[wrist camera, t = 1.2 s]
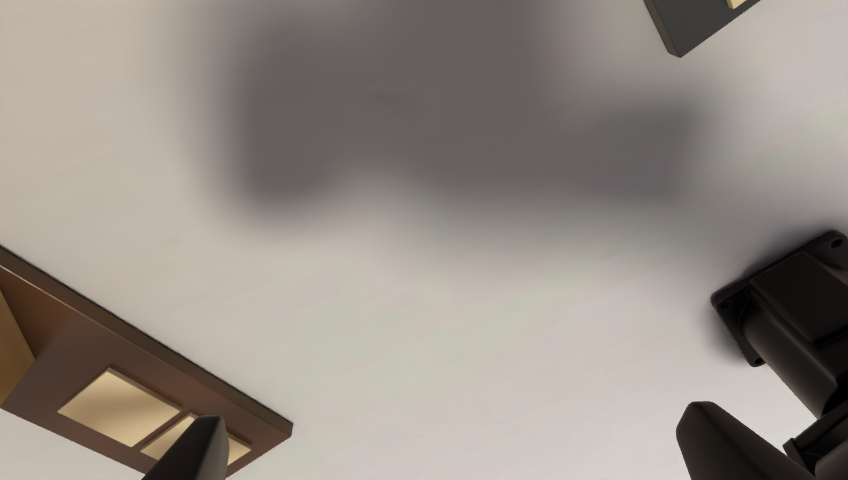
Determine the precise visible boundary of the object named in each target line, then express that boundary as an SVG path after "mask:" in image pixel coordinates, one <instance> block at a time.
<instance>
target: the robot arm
mask: <svg viewBox="0 0 848 480" xmlns="http://www.w3.org/2000/svg"><path fill="white" fill-rule="evenodd" d="M712 305H713V307H714V308H715V310H716V312H717V313H718V315H719V317H720V318H721V320H722V322H723V323H724V325H725V327H726V328H727V330H728V332H729V333H730V335H731V336H732V338H733V340H734V341H735V343H736V345H737V346H738V348H739V350H740V351H741V353H742V355H743V356H744V358H745V359H746V361H747V362H748V363H749V364H750V365H751V366H752V367H758V366H761V365H763V364H765V363H767V364H768V365H769V366H770V367H771V369H772V370H773V371H774V372H775V373H776V374H777V375H778V376H779V377H780V378H781V380H782V381H783V382H784V383H785V384H786V385H787V386H788V387H789V388H790V390H791V391H792V392H793V393H794V394H795V395H796V396H797V397H798V398H799V399H800V401H801V402H802V403H803V404H804V405H805V406H806V407H807V408H808V409H809V410H810V412H811V413H812V414H813V415H814V416H815V417H816V418H817V419H818V420H817V421H816V422H814V423H813V424H812V425H811V426H809V427H808V428H807V429H806V430H804V431H803V432H802V433H801V434H800V435H798V436H797V437H796V438H791V439H789V440H788V441H787V442H786V443H785V444H783V448H784V450H785V452H786V454H787V456H786V455H785V454H784V453H782V452H781V451H779V450H778V449H777V448H775V447H774V446H773V445H771V444H770V443H769V442H767V441H766V440H764V439H763V438H762V437H760V436H759V435H758V434H756V433H755V432H754V431H752V430H751V429H749V428H748V427H747V426H745V425H744V424H743V423H741V422H740V421H739V420H737V419H736V418H734V417H733V416H732V415H730V414H729V413H728V412H726V411H725V410H724V409H722V408H721V407H719V406H718V405H717V404H715V403H713V402H709V401H699V402H691V403H690V404H689V405H688V406H687V408H686V410H685V412H684V414H683V416H682V418H681V419H680V421H679V423H678V425H677V428H676V437H677V441H678V444H679V447H680V449H681V452H682V455H683V458H684V461H685V463H686V466H687V469H688V472H689V475H690V477H691V480H848V239H847V237H846V235H844V234H842V233H841V232H839V231H837V230H832V231H829V232H827V233H825V234H824V235H822V236H820V237H818V238H817V239H815V240H813V241H811V242H809V243H808V244H806V245H804V246H802V247H801V248H799V249H797V250H795V251H794V252H792V253H790V254H788V255H787V256H785V257H783V258H781V259H779V260H778V261H776V262H774V263H772V264H771V265H769V266H767V267H765V268H764V269H762V270H760V271H758V272H756V273H755V274H753V275H751V276H749V277H748V278H746V279H744V280H742V281H741V282H739V283H737V284H735V285H733V286H732V287H730V288H728V289H726V290H725V291H723V292H721V293H719V294H718V295H716V296H715V297H714V298H713V300H712ZM229 451H230V446H229V439H228V435H227V431H226V427H225V422H224V419H223V417H222V416H220V415H204V416H199V417H197V418H196V419H195V420H194V421H193V422H192V423H191V424H190V425H189V427H188V428H187V429H186V430H185V431H184V432H183V433H182V434H181V436H180V437H179V438H178V439H177V440H176V441H175V442H174V443H173V445H172V446H171V447H170V448H169V449H168V450H167V451H166V452H165V454H164V455H163V456H162V457H161V458H160V459H159V460H158V461H157V463H156V464H155V465H154V466H153V467H152V468H151V469H150V470H149V472H148V473H147V474H146V475H145V476H144V477H143V478H142V479H141V480H225V476H226V470H227V465H228V459H229Z"/></svg>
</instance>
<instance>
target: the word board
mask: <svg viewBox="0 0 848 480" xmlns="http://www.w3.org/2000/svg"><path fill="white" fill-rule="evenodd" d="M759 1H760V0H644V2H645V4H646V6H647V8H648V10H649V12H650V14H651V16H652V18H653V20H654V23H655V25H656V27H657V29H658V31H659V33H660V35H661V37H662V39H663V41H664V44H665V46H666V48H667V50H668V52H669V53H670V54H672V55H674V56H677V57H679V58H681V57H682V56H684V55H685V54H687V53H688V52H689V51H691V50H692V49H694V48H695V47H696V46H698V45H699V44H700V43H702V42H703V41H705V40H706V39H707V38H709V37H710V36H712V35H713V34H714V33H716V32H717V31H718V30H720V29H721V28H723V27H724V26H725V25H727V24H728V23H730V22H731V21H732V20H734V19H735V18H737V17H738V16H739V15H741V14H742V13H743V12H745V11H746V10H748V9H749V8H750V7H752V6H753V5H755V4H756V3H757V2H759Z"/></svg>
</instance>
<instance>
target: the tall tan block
mask: <svg viewBox="0 0 848 480" xmlns="http://www.w3.org/2000/svg"><path fill="white" fill-rule="evenodd" d="M34 361H35V358H34V356H33V354H32V352H31V350H30V348H29V346H28V344H27V342H26V340H25V338H24V336H23V334H22V332H21V330H20V328H19V326H18V324H17V322H16V320H15V318H14V316H13V314H12V312H11V310H10V308H9V306H8V304H7V302H6V300H5V298H4V296H3V294H2V292H1V290H0V406H1V404H2V403H3V402H4V400H5V399H6V398H7V397H8V395H9V394H10V393H11V391H12V390H13V389H14V387H15V386H16V385H17V384H18V382H19V381H20V380H21V378H22V377H23V376H24V374H25V373H26V372H27V370H28V369H29V368H30V367H31V365H32V364H33V363H34Z"/></svg>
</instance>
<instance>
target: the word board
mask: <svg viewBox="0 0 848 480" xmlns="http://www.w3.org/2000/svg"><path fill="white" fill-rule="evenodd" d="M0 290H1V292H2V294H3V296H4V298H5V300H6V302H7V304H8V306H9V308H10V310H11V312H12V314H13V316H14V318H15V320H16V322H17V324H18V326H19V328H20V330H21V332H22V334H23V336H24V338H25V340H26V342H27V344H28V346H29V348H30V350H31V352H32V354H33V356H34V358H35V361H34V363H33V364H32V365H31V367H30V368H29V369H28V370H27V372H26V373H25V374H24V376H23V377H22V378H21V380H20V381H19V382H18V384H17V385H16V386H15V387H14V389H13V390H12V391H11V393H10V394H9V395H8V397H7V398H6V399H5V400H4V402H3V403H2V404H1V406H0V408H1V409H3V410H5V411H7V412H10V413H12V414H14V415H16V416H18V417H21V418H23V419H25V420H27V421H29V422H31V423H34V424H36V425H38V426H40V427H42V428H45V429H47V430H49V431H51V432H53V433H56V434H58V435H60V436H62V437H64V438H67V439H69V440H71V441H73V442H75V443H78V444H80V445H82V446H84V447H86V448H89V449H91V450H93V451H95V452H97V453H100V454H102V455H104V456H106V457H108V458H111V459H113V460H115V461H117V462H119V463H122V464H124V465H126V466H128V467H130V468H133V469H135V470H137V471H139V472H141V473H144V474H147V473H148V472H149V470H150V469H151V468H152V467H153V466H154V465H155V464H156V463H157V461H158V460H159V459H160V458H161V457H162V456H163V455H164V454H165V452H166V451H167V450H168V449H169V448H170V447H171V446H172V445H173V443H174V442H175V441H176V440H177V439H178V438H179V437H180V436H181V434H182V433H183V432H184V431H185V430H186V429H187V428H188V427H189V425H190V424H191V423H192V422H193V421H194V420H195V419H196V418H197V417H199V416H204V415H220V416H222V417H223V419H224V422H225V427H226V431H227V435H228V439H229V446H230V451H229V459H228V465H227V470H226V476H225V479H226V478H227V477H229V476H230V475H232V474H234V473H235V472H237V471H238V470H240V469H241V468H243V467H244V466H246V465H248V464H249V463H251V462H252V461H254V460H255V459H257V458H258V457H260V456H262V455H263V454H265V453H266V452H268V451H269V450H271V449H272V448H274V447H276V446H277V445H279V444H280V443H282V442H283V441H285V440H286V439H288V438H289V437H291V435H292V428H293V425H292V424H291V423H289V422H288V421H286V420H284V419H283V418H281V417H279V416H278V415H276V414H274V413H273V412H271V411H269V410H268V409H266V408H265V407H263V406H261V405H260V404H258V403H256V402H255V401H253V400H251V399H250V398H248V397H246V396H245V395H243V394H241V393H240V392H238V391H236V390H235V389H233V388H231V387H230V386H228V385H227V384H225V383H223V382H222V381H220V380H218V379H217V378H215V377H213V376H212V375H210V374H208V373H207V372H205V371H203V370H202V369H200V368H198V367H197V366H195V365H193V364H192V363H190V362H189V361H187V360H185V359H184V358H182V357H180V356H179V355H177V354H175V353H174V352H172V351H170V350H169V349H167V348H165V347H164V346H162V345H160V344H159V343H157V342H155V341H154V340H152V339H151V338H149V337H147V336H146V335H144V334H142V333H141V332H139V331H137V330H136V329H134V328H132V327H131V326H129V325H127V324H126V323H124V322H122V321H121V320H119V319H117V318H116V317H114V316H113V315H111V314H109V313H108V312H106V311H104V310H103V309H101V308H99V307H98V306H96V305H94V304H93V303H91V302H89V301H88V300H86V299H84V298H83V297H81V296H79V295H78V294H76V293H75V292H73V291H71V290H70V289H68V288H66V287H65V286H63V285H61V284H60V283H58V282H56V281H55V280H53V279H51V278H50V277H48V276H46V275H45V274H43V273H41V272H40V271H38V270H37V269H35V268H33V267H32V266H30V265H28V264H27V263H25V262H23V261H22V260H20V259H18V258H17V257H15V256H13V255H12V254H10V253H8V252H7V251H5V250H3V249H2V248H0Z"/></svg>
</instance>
